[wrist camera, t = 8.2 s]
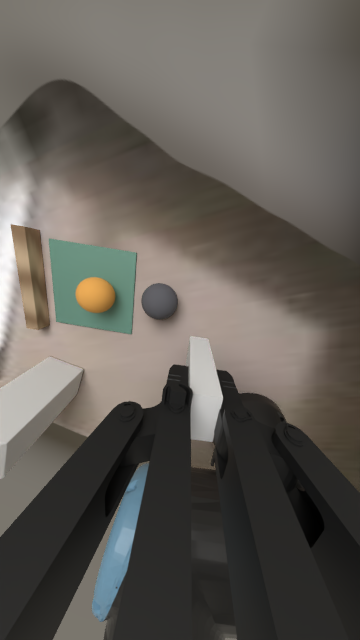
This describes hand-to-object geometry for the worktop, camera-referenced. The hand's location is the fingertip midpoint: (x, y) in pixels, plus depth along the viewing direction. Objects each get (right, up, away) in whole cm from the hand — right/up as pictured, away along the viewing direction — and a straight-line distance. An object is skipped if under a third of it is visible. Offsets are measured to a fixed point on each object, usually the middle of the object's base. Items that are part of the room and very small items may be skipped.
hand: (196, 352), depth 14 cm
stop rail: (-26, +9, +14) cm, 31 cm away
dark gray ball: (-5, +6, +12) cm, 14 cm away
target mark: (-16, +8, +14) cm, 23 cm away
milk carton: (-25, -9, +21) cm, 34 cm away
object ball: (-14, +7, +12) cm, 20 cm away
